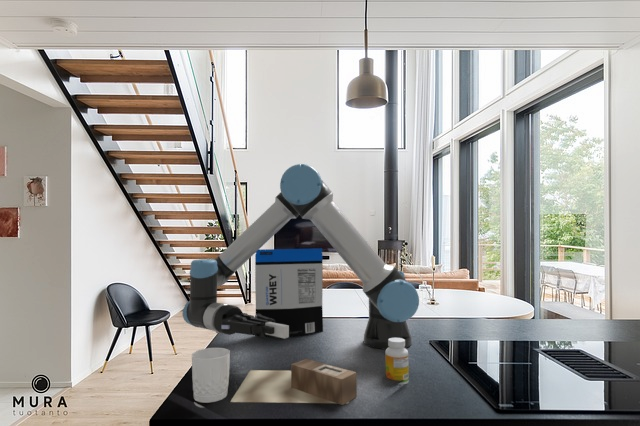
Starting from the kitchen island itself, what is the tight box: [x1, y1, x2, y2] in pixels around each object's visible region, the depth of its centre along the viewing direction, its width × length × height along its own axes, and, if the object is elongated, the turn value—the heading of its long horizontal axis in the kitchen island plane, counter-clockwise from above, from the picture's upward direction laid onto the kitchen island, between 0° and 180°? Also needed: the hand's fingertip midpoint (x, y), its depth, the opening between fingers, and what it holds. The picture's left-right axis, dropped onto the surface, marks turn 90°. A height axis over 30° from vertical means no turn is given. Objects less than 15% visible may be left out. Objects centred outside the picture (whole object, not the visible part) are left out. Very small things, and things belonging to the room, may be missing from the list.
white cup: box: [191, 347, 231, 409], centre depth 80 cm, size 8×8×10 cm
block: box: [290, 358, 358, 406], centre depth 81 cm, size 5×5×14 cm
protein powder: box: [254, 248, 324, 339], centre depth 135 cm, size 10×24×30 cm, turn 103°
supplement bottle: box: [384, 338, 410, 386], centre depth 90 cm, size 5×5×10 cm
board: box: [230, 369, 350, 404], centre depth 85 cm, size 24×18×1 cm
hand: (286, 332), depth 88 cm, fingers closed
